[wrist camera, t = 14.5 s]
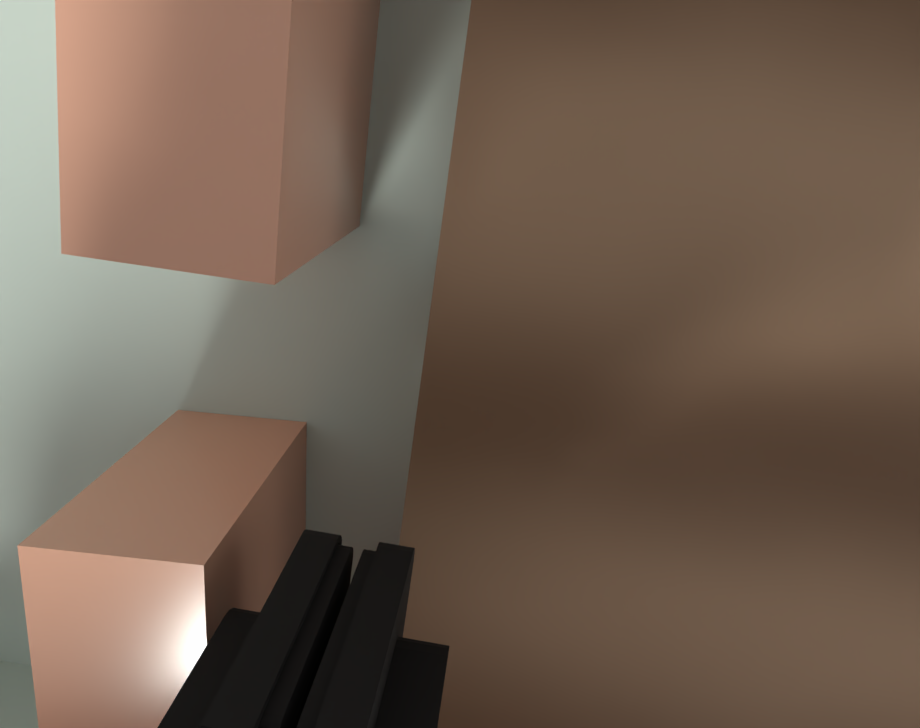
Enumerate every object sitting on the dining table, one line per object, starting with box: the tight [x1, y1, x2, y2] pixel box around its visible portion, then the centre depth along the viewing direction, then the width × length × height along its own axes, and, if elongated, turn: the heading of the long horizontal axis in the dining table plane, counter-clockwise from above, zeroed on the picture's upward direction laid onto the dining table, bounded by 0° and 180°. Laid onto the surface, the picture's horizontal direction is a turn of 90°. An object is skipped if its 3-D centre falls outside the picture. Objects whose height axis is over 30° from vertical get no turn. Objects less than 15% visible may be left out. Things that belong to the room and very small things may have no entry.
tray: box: [0, 0, 471, 728], centre depth 13 cm, size 19×12×4 cm, turn 172°
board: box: [399, 0, 920, 728], centre depth 13 cm, size 18×10×3 cm, turn 172°
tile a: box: [55, 0, 380, 285], centre depth 11 cm, size 5×5×2 cm
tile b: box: [17, 410, 307, 728], centre depth 13 cm, size 5×5×2 cm
